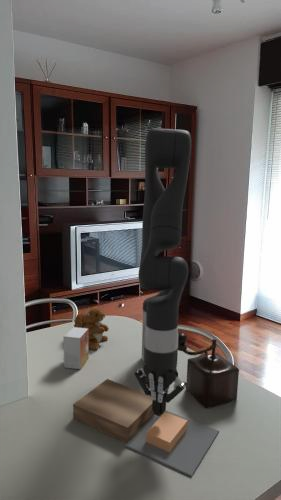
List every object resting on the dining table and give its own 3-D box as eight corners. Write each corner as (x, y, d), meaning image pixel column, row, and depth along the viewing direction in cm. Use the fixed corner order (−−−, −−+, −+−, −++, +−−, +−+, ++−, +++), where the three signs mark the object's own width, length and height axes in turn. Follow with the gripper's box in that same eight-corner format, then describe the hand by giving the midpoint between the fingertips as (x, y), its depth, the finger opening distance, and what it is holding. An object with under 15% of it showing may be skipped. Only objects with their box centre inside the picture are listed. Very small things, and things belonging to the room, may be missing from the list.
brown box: (107, 392, 103) (107, 378, 102) (157, 411, 95) (158, 397, 94) (73, 418, 91) (73, 404, 91) (127, 443, 83) (127, 427, 83)
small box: (80, 370, 115) (80, 338, 113) (63, 368, 116) (63, 336, 114) (89, 358, 122) (89, 328, 120) (73, 356, 124) (72, 326, 122)
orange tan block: (187, 420, 87) (187, 429, 88) (165, 411, 91) (164, 420, 91) (170, 442, 80) (169, 452, 80) (146, 432, 83) (145, 441, 83)
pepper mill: (213, 380, 111) (217, 323, 107) (238, 400, 101) (242, 338, 97) (168, 391, 104) (170, 331, 101) (189, 414, 94) (192, 348, 91)
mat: (159, 409, 96) (159, 408, 96) (218, 432, 88) (218, 430, 88) (125, 446, 83) (125, 444, 82) (191, 477, 74) (191, 475, 74)
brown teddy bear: (98, 351, 127) (98, 315, 125) (64, 343, 133) (63, 308, 131) (112, 340, 136) (112, 306, 134) (80, 333, 142) (80, 300, 140)
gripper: (195, 345, 83) (191, 415, 86) (144, 331, 89) (142, 396, 93) (180, 358, 76) (177, 433, 80) (127, 342, 83) (126, 412, 86)
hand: (158, 413), depth 86 cm, fingers closed
